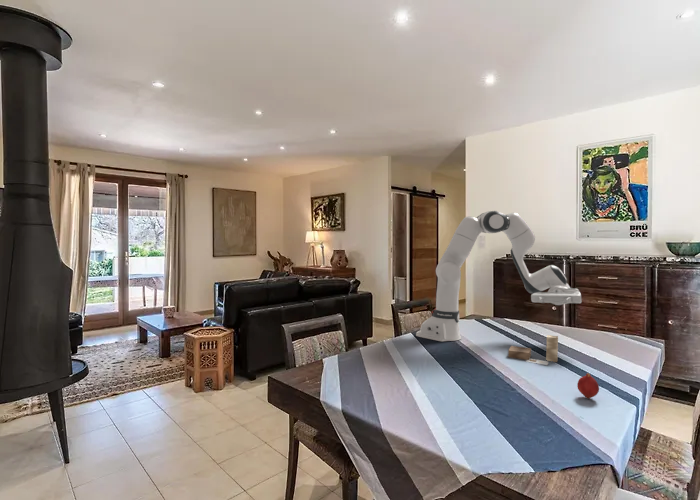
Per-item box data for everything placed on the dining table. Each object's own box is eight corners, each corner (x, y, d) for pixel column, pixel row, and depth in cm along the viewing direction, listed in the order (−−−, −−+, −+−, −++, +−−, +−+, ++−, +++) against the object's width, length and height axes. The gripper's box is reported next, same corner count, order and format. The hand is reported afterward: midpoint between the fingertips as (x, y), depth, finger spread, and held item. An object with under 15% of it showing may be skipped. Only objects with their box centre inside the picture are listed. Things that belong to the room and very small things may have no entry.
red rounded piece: (578, 392, 122) (579, 368, 122) (599, 397, 119) (600, 372, 119) (575, 398, 118) (576, 373, 118) (597, 403, 114) (598, 378, 114)
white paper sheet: (525, 361, 154) (525, 361, 154) (527, 358, 158) (527, 357, 158) (547, 365, 149) (547, 364, 149) (548, 362, 154) (548, 361, 154)
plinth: (508, 357, 159) (508, 350, 159) (511, 352, 166) (511, 345, 166) (529, 360, 155) (529, 352, 155) (531, 355, 162) (531, 348, 162)
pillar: (546, 360, 156) (546, 336, 155) (546, 358, 159) (547, 334, 159) (556, 362, 153) (557, 338, 153) (557, 359, 157) (558, 336, 157)
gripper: (533, 288, 182) (527, 294, 171) (582, 288, 170) (579, 294, 159) (534, 301, 182) (528, 307, 171) (583, 302, 170) (580, 309, 159)
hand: (553, 301), depth 165 cm, fingers open, 8 cm apart
